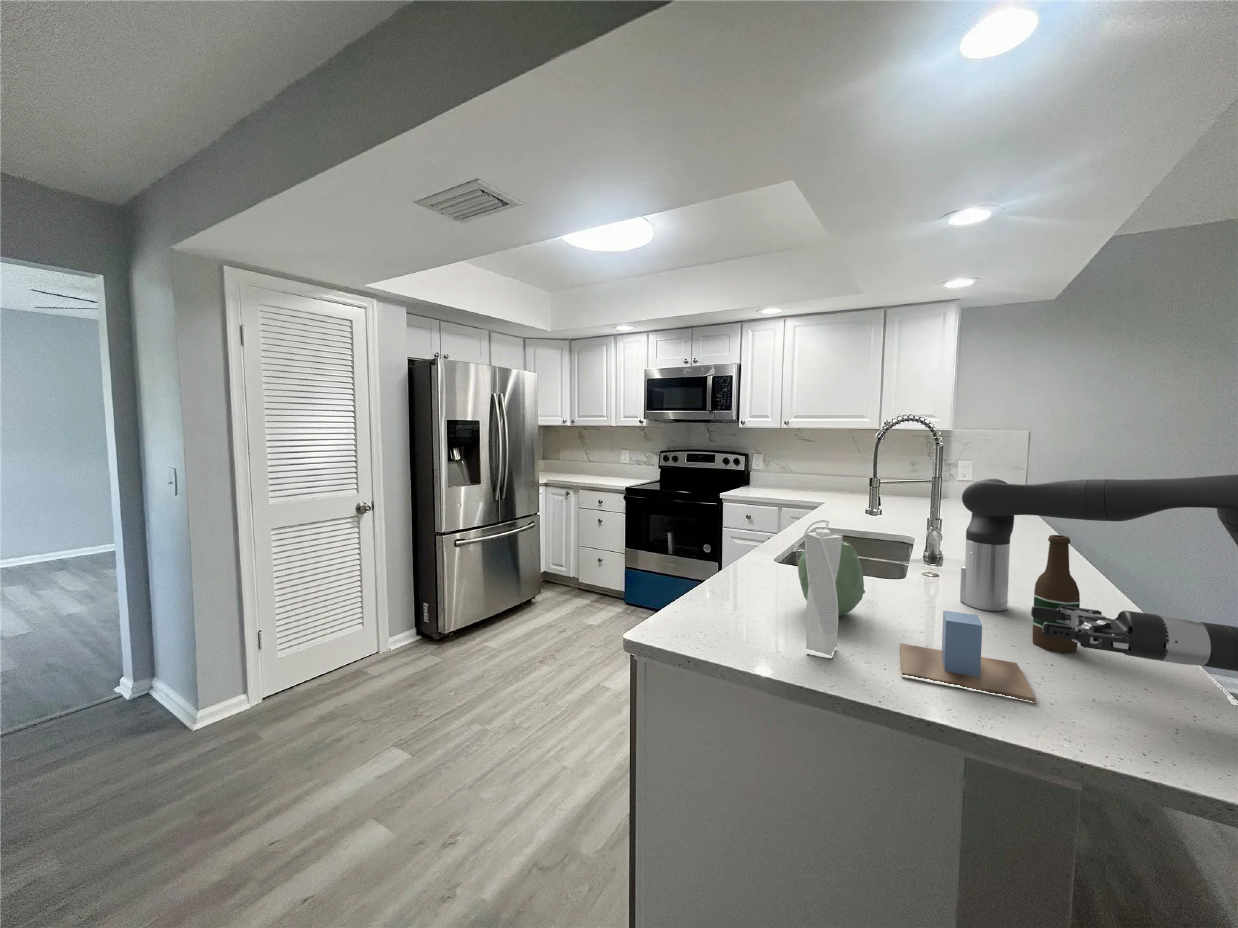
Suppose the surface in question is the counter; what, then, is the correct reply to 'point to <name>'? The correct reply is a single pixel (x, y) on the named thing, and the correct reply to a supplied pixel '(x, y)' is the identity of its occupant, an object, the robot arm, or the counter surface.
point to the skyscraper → (822, 588)
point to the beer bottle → (1055, 594)
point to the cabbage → (841, 579)
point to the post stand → (992, 675)
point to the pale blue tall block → (961, 643)
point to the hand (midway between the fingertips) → (1037, 619)
